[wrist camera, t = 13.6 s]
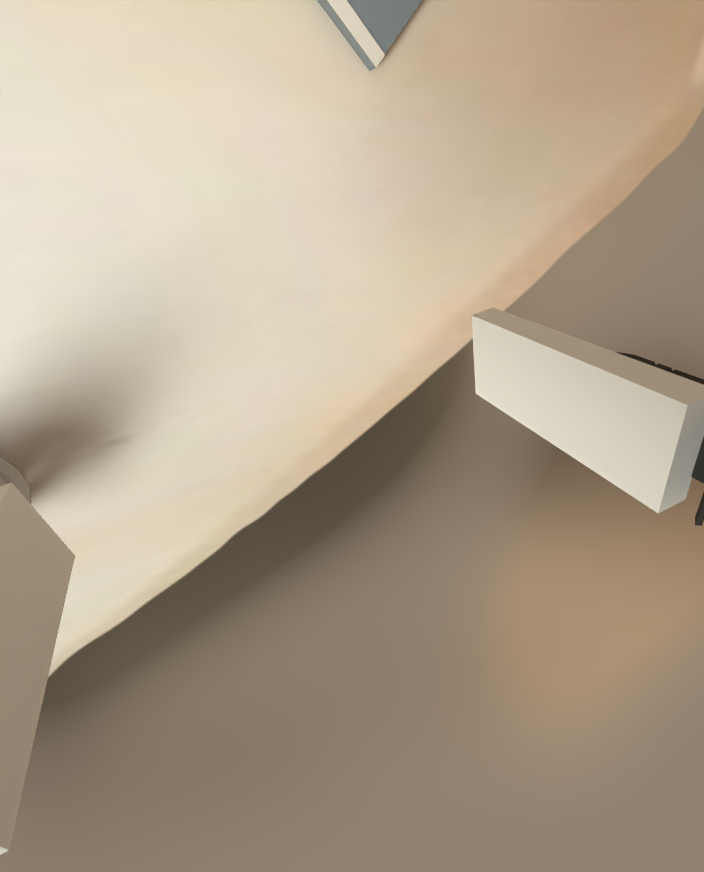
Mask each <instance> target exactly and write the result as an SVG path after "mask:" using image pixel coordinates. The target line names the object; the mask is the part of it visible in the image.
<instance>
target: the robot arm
mask: <svg viewBox="0 0 704 872" xmlns="http://www.w3.org/2000/svg"><path fill="white" fill-rule="evenodd" d="M472 328H473V348H474V368H475V387H476V394H478V395H479V396H481V397H482V398H483V399H485V400H487V401H488V402H490V403H491V404H493V405H494V406H496V407H497V408H499V409H500V410H502V411H503V412H505V413H506V414H508V415H509V416H511V417H512V418H514V419H515V420H517V421H518V422H520V423H522V424H523V425H525V426H526V427H528V428H529V429H531V430H532V431H534V432H535V433H537V434H538V435H540V436H541V437H543V438H544V439H546V440H548V441H549V442H551V443H552V444H554V445H555V446H557V447H558V448H560V449H561V450H563V451H564V452H566V453H567V454H569V455H570V456H572V457H573V458H575V459H577V460H578V461H579V462H581V463H582V464H584V465H585V466H587V467H589V468H590V469H592V470H593V471H595V472H596V473H598V474H599V475H601V476H602V477H604V478H605V479H607V480H608V481H610V482H612V483H613V484H614V485H616V486H617V487H619V488H620V489H622V490H624V491H625V492H627V493H628V494H630V495H631V496H633V497H634V498H636V499H637V500H639V501H640V502H642V503H644V504H645V505H646V506H648V507H649V508H651V509H653V510H654V511H656V512H657V513H660V512H662V511H664V510H666V509H668V508H669V507H671V506H673V505H675V504H677V503H679V502H681V501H683V500H685V499H686V495H687V492H688V489H689V486H690V482H691V479H692V477H693V478H695V479H696V480H699V481H700V482H702V483H704V380H703V379H700V378H697V377H695V376H692V375H689V374H686V373H684V372H681V371H678V370H674V371H672V369H671V368H670V367H666V366H664V365H661V364H657V365H656V364H655V363H654V362H653V361H650V360H647V359H644V358H642V357H639V356H636V355H631V354H625V353H619V352H613V351H610V350H607V349H605V348H602V347H599V346H596V345H594V344H591V343H588V342H586V341H583V340H580V339H577V338H575V337H572V336H569V335H567V334H564V333H561V332H558V331H556V330H553V329H550V328H547V327H545V326H542V325H539V324H537V323H534V322H531V321H528V320H526V319H523V318H520V317H517V316H515V315H512V314H509V313H506V312H504V311H501V310H498V309H496V308H491V309H488V310H485V311H483V312H480V313H477V314H474V315H472ZM703 520H704V493H703V496H702V499H701V502H700V505H699V508H698V511H697V513H696V516H695V525H701V526H702V523H703ZM74 558H75V555H74V554H73V553H72V552H71V551H70V549H69V548H68V547H67V546H66V545H65V544H64V542H63V541H62V540H61V539H60V538H59V537H58V535H57V534H56V533H55V532H54V531H53V530H52V528H51V527H50V526H49V525H48V524H47V523H46V522H45V520H44V519H43V518H42V517H41V516H40V515H39V513H38V512H37V511H36V510H35V509H34V508H33V506H32V505H31V504H30V503H29V502H28V501H27V499H26V498H25V497H24V496H23V495H22V494H21V493H20V491H19V490H18V489H17V488H16V487H15V486H14V484H13V483H12V482H11V483H9V484H6V485H3V486H0V854H2V853H4V852H6V851H8V850H9V847H10V843H11V838H12V834H13V829H14V825H15V820H16V816H17V811H18V807H19V802H20V798H21V794H22V789H23V784H24V780H25V776H26V772H27V767H28V763H29V758H30V753H31V749H32V745H33V740H34V736H35V731H36V727H37V723H38V718H39V713H40V709H41V705H42V700H43V696H44V691H45V686H46V683H47V678H48V674H49V669H50V665H51V660H52V656H53V651H54V647H55V642H56V638H57V634H58V629H59V625H60V620H61V616H62V611H63V607H64V602H65V598H66V594H67V589H68V585H69V580H70V576H71V571H72V567H73V562H74Z"/></svg>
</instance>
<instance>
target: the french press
mask: <svg viewBox="0 0 704 872" xmlns="http://www.w3.org/2000/svg"><path fill="white" fill-rule="evenodd" d="M11 482H12V483H13V484H14V486H15V487H16V488H17V489H18V490H19V491H20V493H21V494H22V495H23V496H24V497H25V498H26V499H27V501H28V502H29V503H30V504H31V495H30V485H29V484H28V482H27V481H26V479H25V478H24V476H23V475H22V474H21V472H20V471H19V469H18V468H16V467H15V466H13V465H12V464H10V463H9V462H7V461H6V460H4V459H3V458H1V457H0V486H3V485H6V484H9V483H11Z"/></svg>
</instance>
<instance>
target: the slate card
mask: <svg viewBox="0 0 704 872" xmlns="http://www.w3.org/2000/svg"><path fill="white" fill-rule="evenodd" d="M421 1H422V0H318V2H319V3H320V4H321V6H322V7H323V8H324V10H325V11H326V12H327V14H328V15H329V16H330V18H331V19H332V20H333V22H334V23H335V25H336V26H337V27H338V29H339V30H340V31H341V33H342V34H343V35H344V37H345V38H346V39H347V41H348V42H349V43H350V45H351V46H352V48H353V49H354V50H355V52H356V53H357V54H358V56H359V57H360V58H361V60H362V61H363V62H364V64H365V65H366V67H367V68H368V69H369V71H370V70H372V69H374V68H376V67H377V66H378V64H379V63H380V61H381V60H382V59H383V57H384V56H385V54H386V52H387V51H388V49H389V48H390V46H391V45H392V43H393V42H394V41H395V39H396V38H397V36H398V35H399V33H400V32H401V30H402V29H403V27H404V26H405V25H406V23H407V22H408V20H409V19H410V17H411V16H412V14H413V13H414V11H415V10H416V9H417V7H418V6H419V4H420V3H421Z"/></svg>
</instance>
